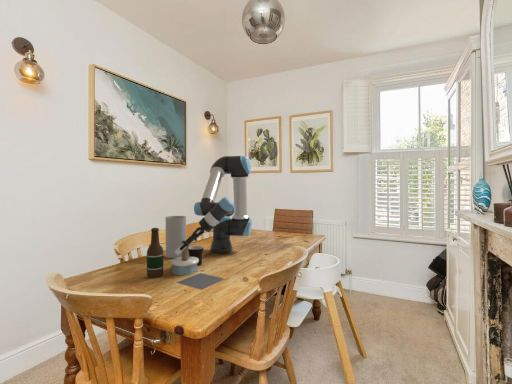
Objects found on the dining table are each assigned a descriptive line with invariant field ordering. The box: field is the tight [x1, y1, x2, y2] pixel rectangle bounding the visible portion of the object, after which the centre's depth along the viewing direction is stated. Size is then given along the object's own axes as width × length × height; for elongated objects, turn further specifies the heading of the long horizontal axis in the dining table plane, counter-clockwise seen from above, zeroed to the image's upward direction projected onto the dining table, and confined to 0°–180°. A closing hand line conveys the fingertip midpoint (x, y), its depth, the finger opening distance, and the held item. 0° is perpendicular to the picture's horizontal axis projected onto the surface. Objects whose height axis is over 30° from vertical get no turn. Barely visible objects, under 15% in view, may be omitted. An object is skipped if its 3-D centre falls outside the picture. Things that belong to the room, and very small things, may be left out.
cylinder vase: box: [165, 215, 187, 259], centre depth 173 cm, size 12×12×25 cm
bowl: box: [171, 264, 198, 276], centre depth 143 cm, size 12×12×5 cm
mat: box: [175, 272, 225, 291], centre depth 129 cm, size 16×16×1 cm
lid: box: [170, 241, 199, 266], centre depth 142 cm, size 14×14×11 cm
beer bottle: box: [146, 227, 165, 280], centre depth 135 cm, size 8×8×24 cm
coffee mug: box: [188, 245, 204, 267], centre depth 156 cm, size 12×9×10 cm
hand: (180, 250), depth 142 cm, fingers open, 13 cm apart
